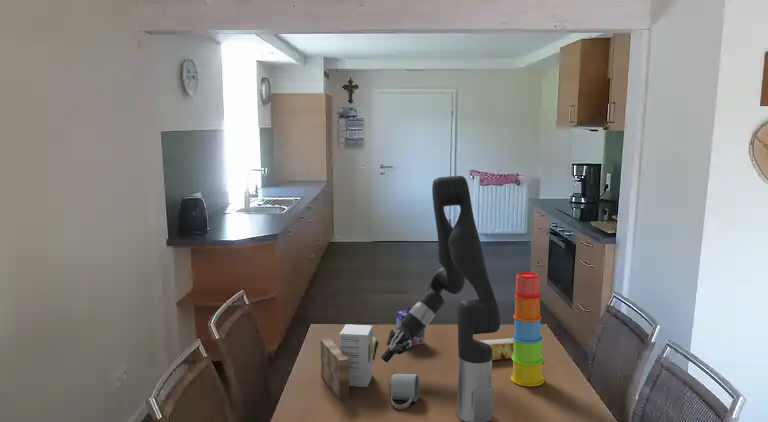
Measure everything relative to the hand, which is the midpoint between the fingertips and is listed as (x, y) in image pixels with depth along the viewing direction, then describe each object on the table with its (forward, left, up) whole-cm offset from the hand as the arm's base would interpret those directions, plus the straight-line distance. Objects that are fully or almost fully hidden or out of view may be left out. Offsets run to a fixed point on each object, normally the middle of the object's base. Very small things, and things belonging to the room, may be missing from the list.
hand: (383, 360), depth 181 cm
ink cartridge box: (+22, -21, -6) cm, 31 cm away
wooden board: (0, +17, -5) cm, 18 cm away
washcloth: (+25, -1, -6) cm, 25 cm away
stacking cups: (-21, -41, -6) cm, 46 cm away
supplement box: (+1, +9, -6) cm, 11 cm away
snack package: (-2, -45, -6) cm, 45 cm away
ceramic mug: (-17, +1, -6) cm, 18 cm away
